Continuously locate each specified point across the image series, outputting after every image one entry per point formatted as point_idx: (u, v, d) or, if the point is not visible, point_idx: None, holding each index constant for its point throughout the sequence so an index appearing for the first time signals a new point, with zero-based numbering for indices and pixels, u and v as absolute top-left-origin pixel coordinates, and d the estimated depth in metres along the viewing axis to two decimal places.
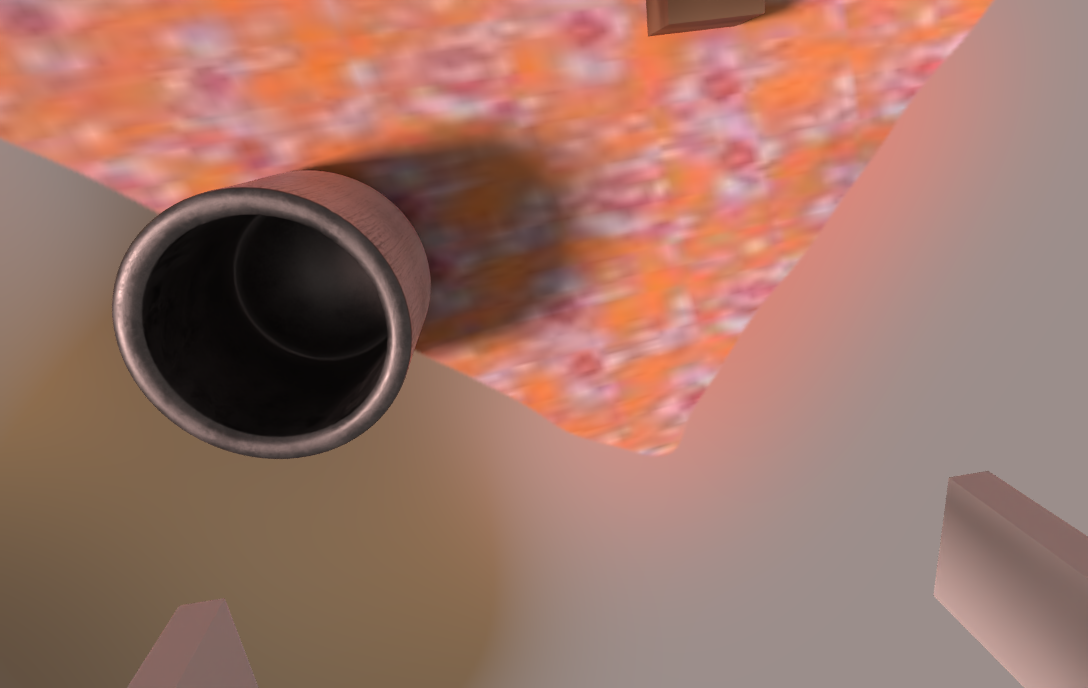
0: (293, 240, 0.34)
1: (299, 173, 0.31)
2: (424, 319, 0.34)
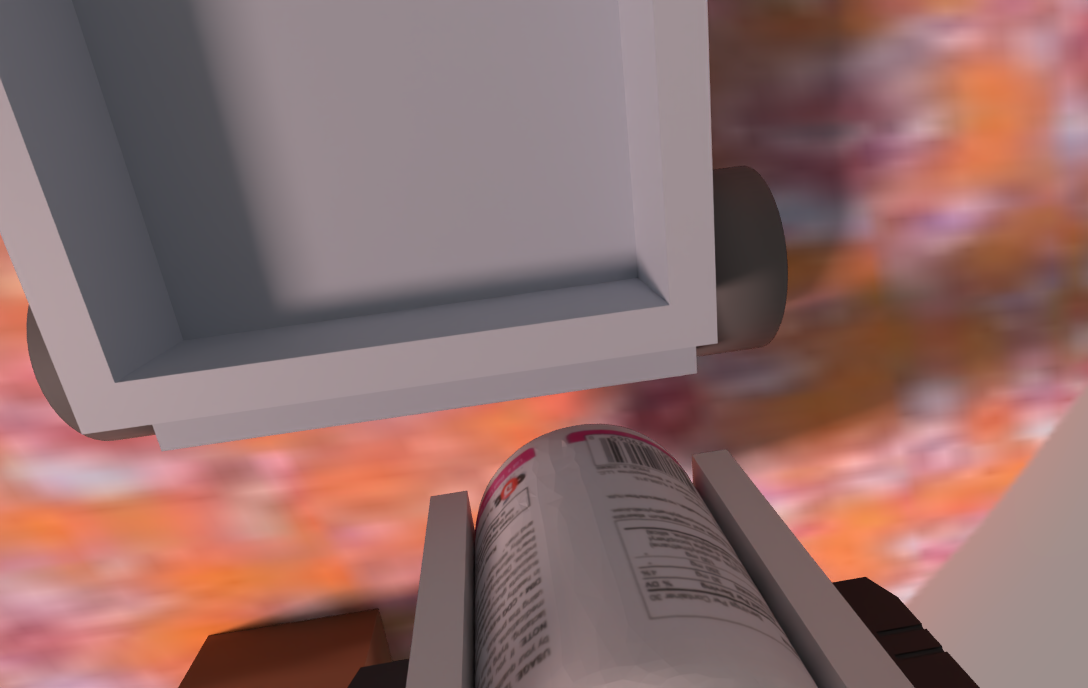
0: None
1: None
2: None
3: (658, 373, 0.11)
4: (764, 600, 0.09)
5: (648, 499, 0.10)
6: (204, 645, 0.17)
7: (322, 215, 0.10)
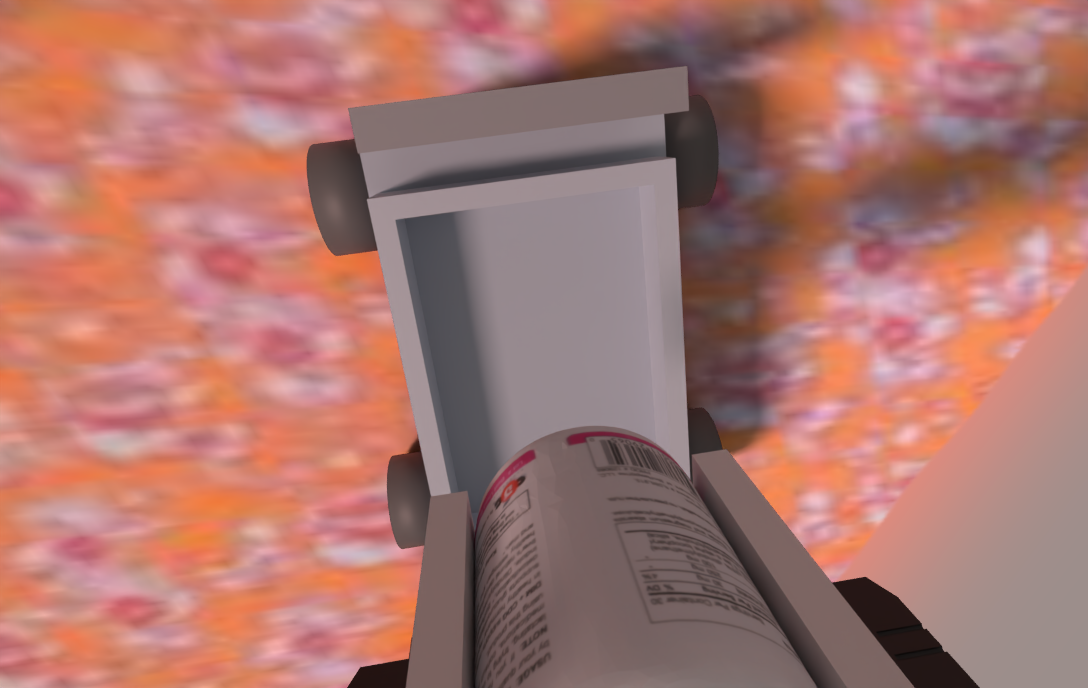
0: None
1: None
2: None
3: None
4: (765, 603, 0.09)
5: (649, 502, 0.10)
6: None
7: None
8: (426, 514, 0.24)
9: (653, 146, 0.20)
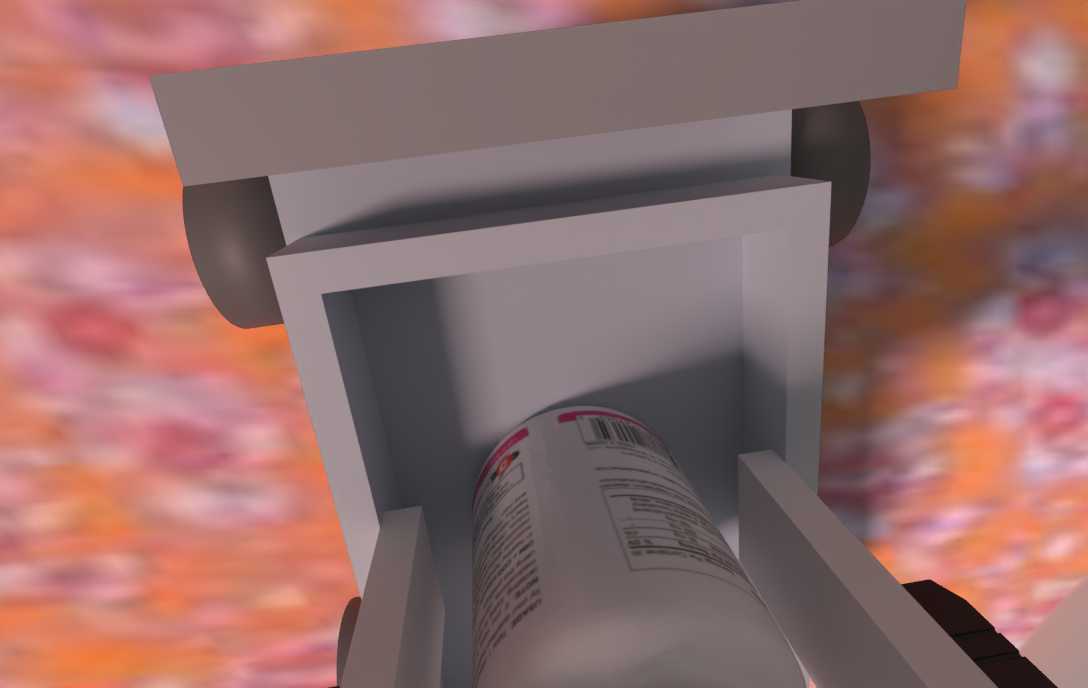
0: None
1: None
2: None
3: None
4: (738, 561, 0.10)
5: (633, 471, 0.10)
6: None
7: None
8: None
9: (770, 158, 0.12)
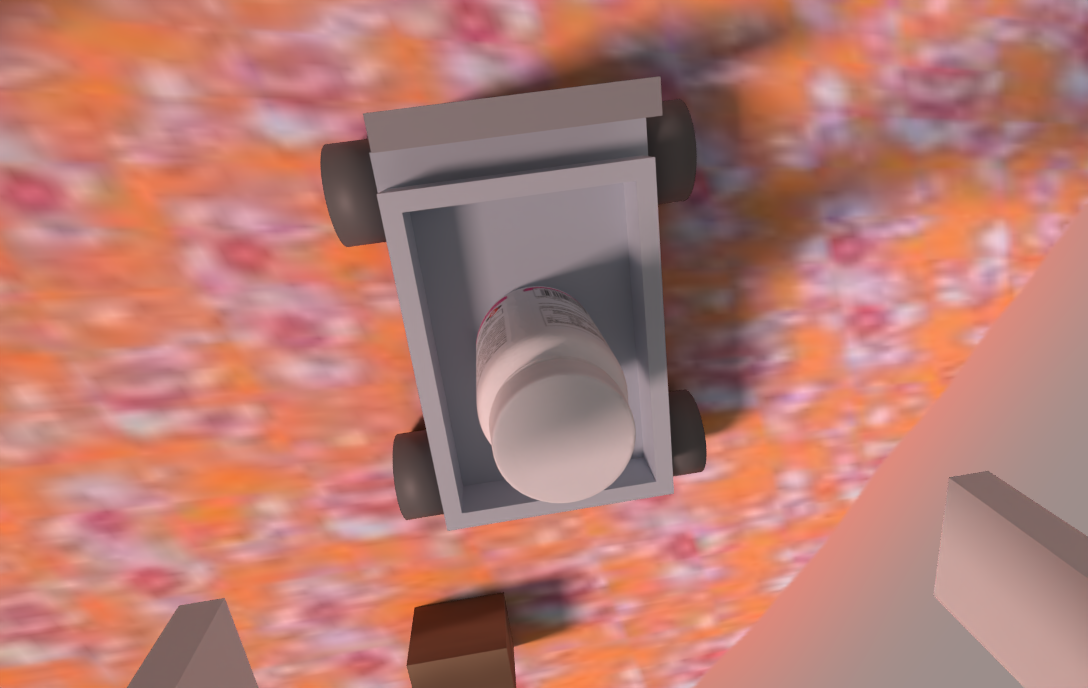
0: None
1: None
2: None
3: None
4: None
5: (557, 304, 0.21)
6: (415, 612, 0.33)
7: None
8: (429, 486, 0.26)
9: (636, 146, 0.22)
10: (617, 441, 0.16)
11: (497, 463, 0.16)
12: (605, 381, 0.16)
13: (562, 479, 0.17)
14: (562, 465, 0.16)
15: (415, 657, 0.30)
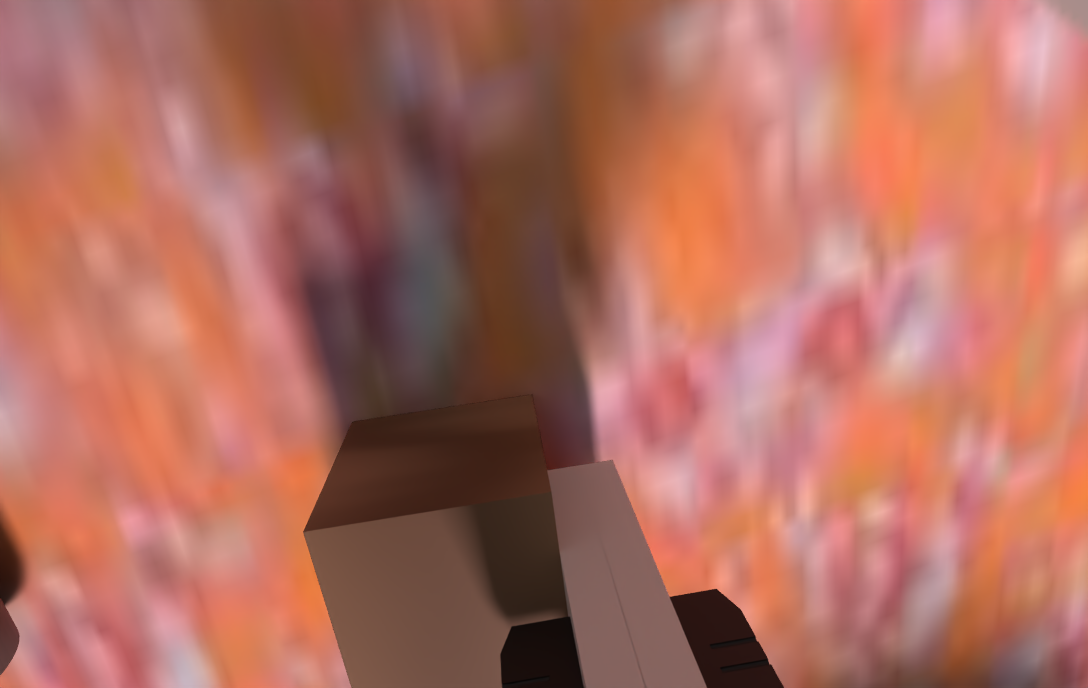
0: None
1: None
2: None
3: None
4: None
5: None
6: None
7: None
8: None
9: None
10: None
11: None
12: None
13: None
14: None
15: None
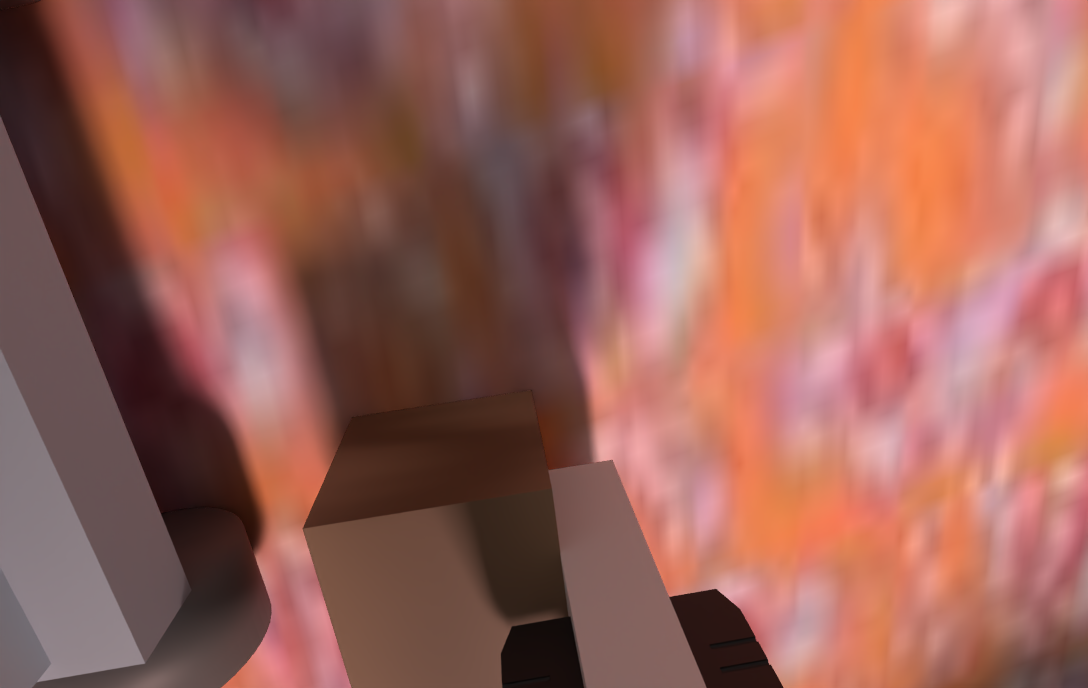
0: None
1: None
2: None
3: None
4: None
5: None
6: None
7: None
8: (53, 681, 0.10)
9: None
10: None
11: None
12: None
13: None
14: None
15: None
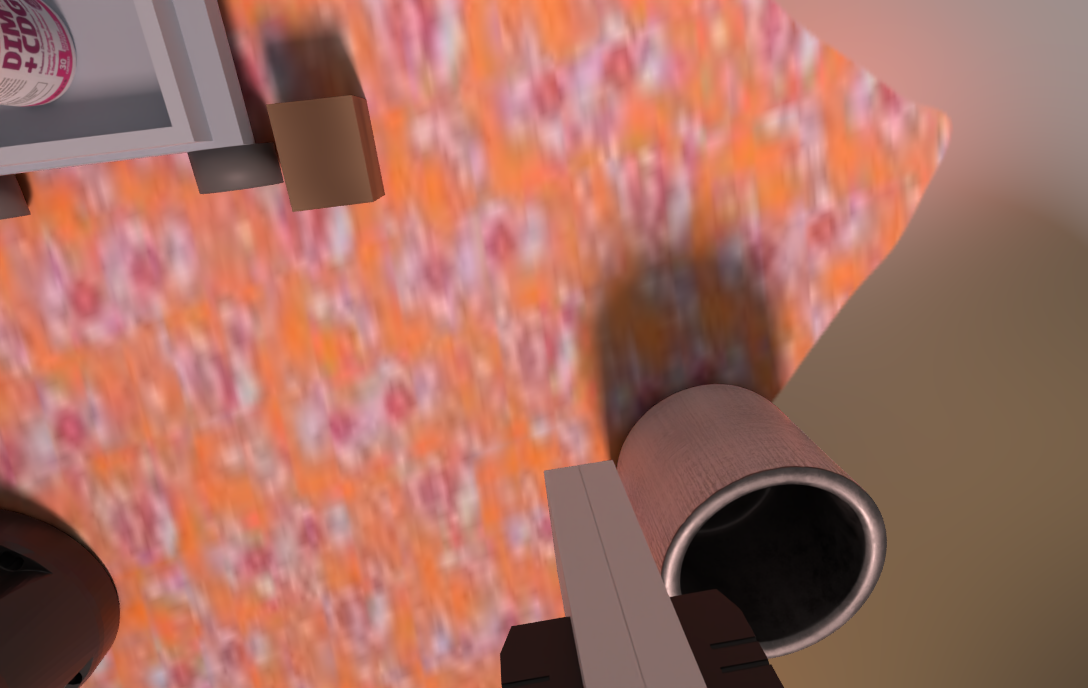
0: None
1: None
2: (759, 404, 0.37)
3: None
4: None
5: None
6: None
7: (132, 65, 0.27)
8: (209, 160, 0.29)
9: None
10: None
11: None
12: None
13: None
14: None
15: None
